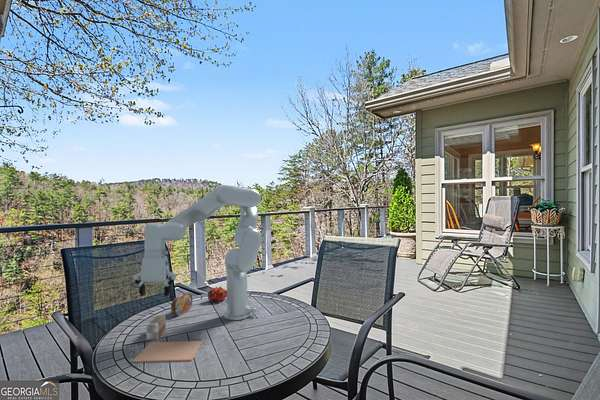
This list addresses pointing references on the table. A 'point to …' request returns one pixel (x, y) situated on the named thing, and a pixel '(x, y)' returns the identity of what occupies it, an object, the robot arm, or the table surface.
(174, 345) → the mat
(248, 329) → the table surface
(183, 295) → the tin
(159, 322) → the card box
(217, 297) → the dragon fruit
